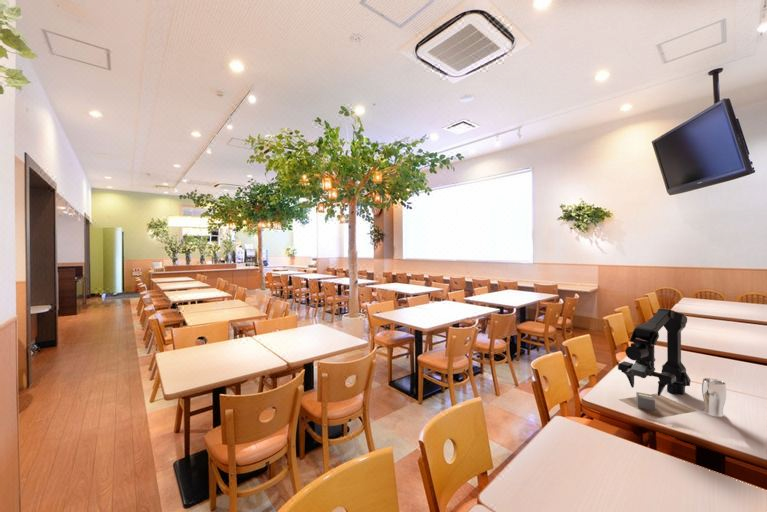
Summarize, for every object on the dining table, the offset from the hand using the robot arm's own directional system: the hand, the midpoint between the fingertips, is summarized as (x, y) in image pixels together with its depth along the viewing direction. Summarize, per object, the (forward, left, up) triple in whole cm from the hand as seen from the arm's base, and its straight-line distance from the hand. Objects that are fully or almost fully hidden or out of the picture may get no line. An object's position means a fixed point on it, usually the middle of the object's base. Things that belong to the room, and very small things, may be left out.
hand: (645, 391), depth 137 cm
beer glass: (-21, +11, -8) cm, 25 cm away
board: (-6, 0, -8) cm, 10 cm away
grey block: (0, 0, -7) cm, 7 cm away
